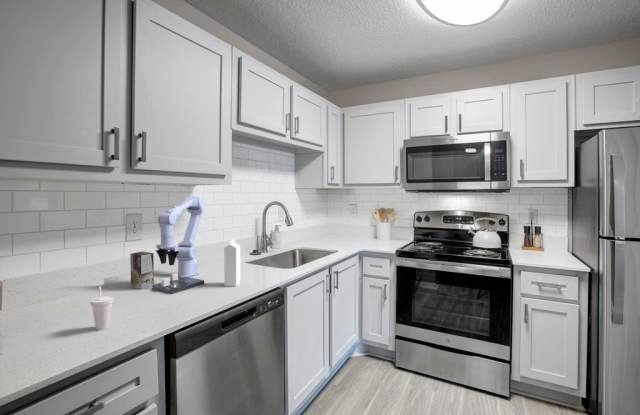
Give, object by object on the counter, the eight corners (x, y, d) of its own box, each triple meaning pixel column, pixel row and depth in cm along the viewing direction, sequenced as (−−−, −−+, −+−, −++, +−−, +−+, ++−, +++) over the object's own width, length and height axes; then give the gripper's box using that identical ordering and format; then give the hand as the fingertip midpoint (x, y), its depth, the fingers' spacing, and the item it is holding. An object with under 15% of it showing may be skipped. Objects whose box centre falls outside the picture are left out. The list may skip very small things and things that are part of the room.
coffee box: (154, 286, 154) (154, 252, 154) (141, 289, 149) (140, 255, 148) (143, 283, 159) (143, 251, 158) (130, 286, 153) (129, 253, 153)
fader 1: (167, 284, 150) (167, 277, 149) (169, 285, 149) (169, 278, 149) (161, 286, 147) (161, 279, 147) (164, 286, 146) (164, 279, 146)
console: (185, 280, 165) (185, 274, 165) (204, 284, 158) (204, 277, 158) (152, 289, 150) (152, 282, 150) (171, 294, 143) (171, 287, 143)
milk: (224, 286, 156) (223, 241, 155) (229, 282, 162) (228, 239, 161) (236, 286, 155) (236, 241, 154) (240, 283, 161) (240, 239, 160)
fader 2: (175, 279, 159) (175, 272, 159) (177, 279, 158) (177, 273, 158) (170, 280, 157) (170, 273, 156) (172, 280, 156) (172, 274, 156)
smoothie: (98, 323, 110) (97, 283, 110) (118, 323, 111) (117, 283, 110) (86, 332, 104) (85, 289, 103) (107, 331, 104) (106, 289, 104)
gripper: (150, 236, 159) (151, 264, 160) (169, 239, 152) (169, 267, 152) (163, 235, 165) (164, 261, 166) (182, 237, 158) (182, 264, 159)
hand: (167, 264), depth 160 cm, fingers open, 6 cm apart
